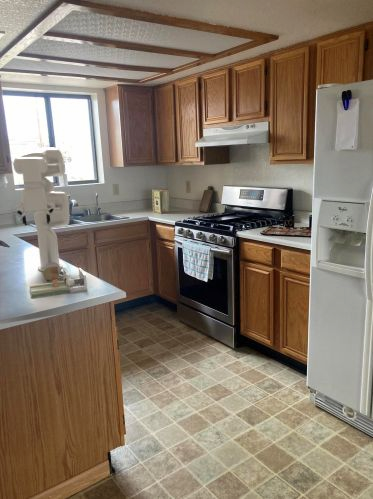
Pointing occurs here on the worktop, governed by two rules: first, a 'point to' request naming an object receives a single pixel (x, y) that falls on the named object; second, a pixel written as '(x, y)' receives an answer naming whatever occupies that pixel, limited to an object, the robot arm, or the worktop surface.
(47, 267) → the ceramic mug
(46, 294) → the field
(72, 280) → the ball
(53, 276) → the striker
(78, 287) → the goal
